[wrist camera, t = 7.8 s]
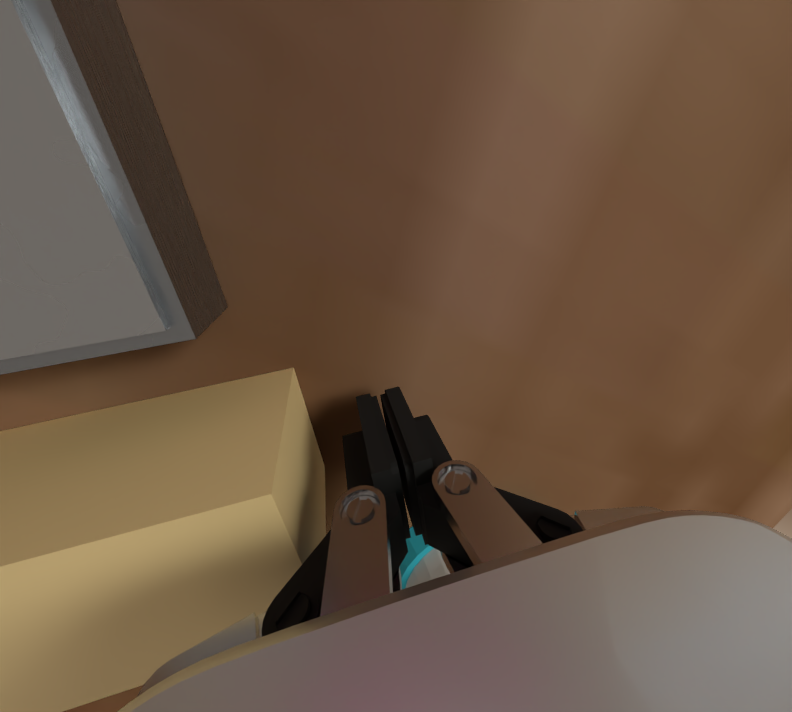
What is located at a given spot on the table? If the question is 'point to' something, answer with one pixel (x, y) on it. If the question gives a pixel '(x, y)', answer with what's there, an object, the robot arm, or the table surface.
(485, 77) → the table surface
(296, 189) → the table surface
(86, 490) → the yellow rectangular block
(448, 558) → the robot arm
